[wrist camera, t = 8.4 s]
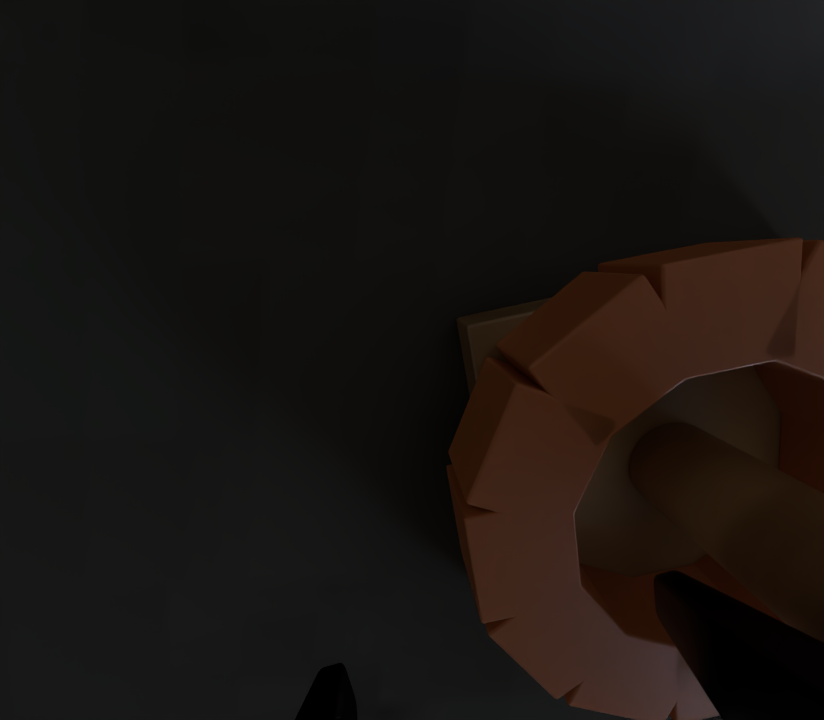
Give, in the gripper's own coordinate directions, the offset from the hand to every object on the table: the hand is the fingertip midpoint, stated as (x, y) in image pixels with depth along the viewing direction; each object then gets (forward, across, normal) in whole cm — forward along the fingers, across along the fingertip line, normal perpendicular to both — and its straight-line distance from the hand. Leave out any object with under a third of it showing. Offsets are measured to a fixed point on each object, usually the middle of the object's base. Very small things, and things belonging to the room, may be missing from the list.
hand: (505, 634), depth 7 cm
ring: (+4, -6, 0) cm, 7 cm away
